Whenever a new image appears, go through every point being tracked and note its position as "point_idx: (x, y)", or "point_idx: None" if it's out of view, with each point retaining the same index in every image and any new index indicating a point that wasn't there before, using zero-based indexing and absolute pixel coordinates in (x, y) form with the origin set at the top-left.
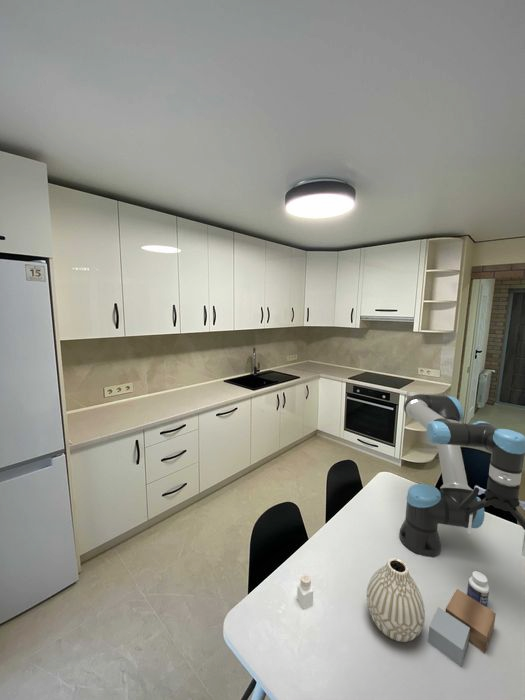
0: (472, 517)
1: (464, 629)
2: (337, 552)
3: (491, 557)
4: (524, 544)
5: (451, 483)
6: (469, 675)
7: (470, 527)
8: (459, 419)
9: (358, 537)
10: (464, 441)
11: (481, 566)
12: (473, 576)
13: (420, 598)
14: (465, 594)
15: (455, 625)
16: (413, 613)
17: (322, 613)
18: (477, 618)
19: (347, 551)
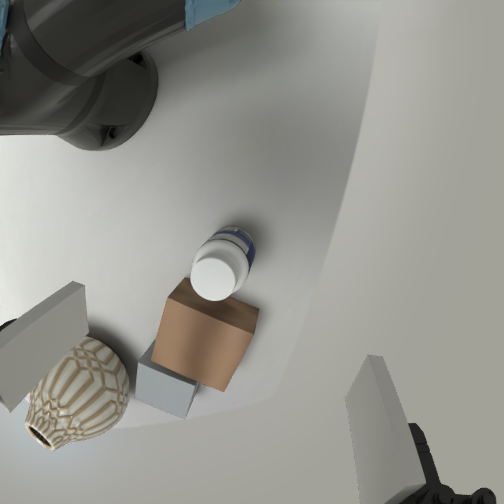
0: (20, 334)
1: (185, 390)
2: (5, 253)
3: (305, 37)
4: (356, 462)
5: None
6: (207, 397)
7: (60, 355)
8: None
9: (12, 187)
10: None
11: (268, 90)
12: (193, 286)
13: (97, 422)
14: (186, 308)
15: (170, 388)
16: (102, 433)
17: None
18: (210, 363)
19: (11, 241)
